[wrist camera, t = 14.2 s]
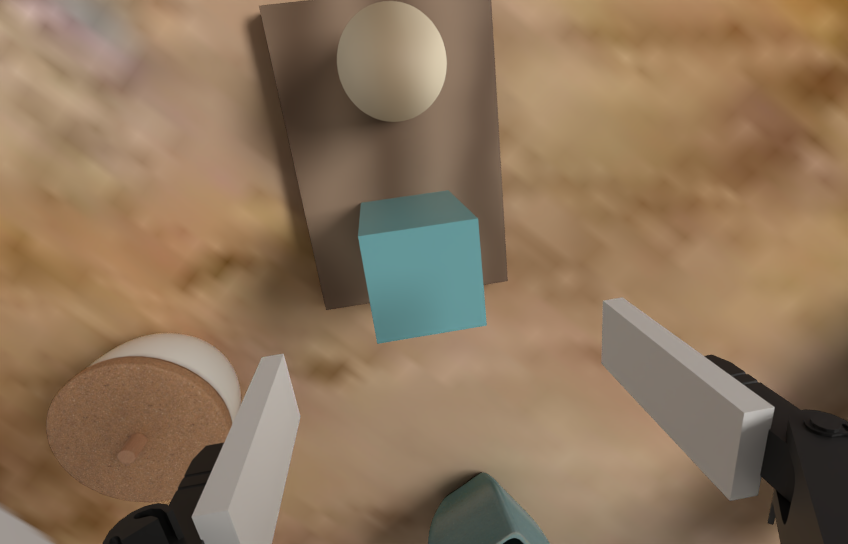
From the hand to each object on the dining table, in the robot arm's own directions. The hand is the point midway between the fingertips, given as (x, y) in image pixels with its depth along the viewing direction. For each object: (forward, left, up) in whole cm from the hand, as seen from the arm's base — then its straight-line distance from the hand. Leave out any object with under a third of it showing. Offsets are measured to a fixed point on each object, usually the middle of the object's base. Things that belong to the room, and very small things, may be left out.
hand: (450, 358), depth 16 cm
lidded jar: (+19, +8, -18) cm, 28 cm away
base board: (0, -6, -18) cm, 19 cm away
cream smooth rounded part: (0, -11, -18) cm, 21 cm away
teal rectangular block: (0, 0, -17) cm, 17 cm away
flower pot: (-3, +27, -18) cm, 33 cm away
